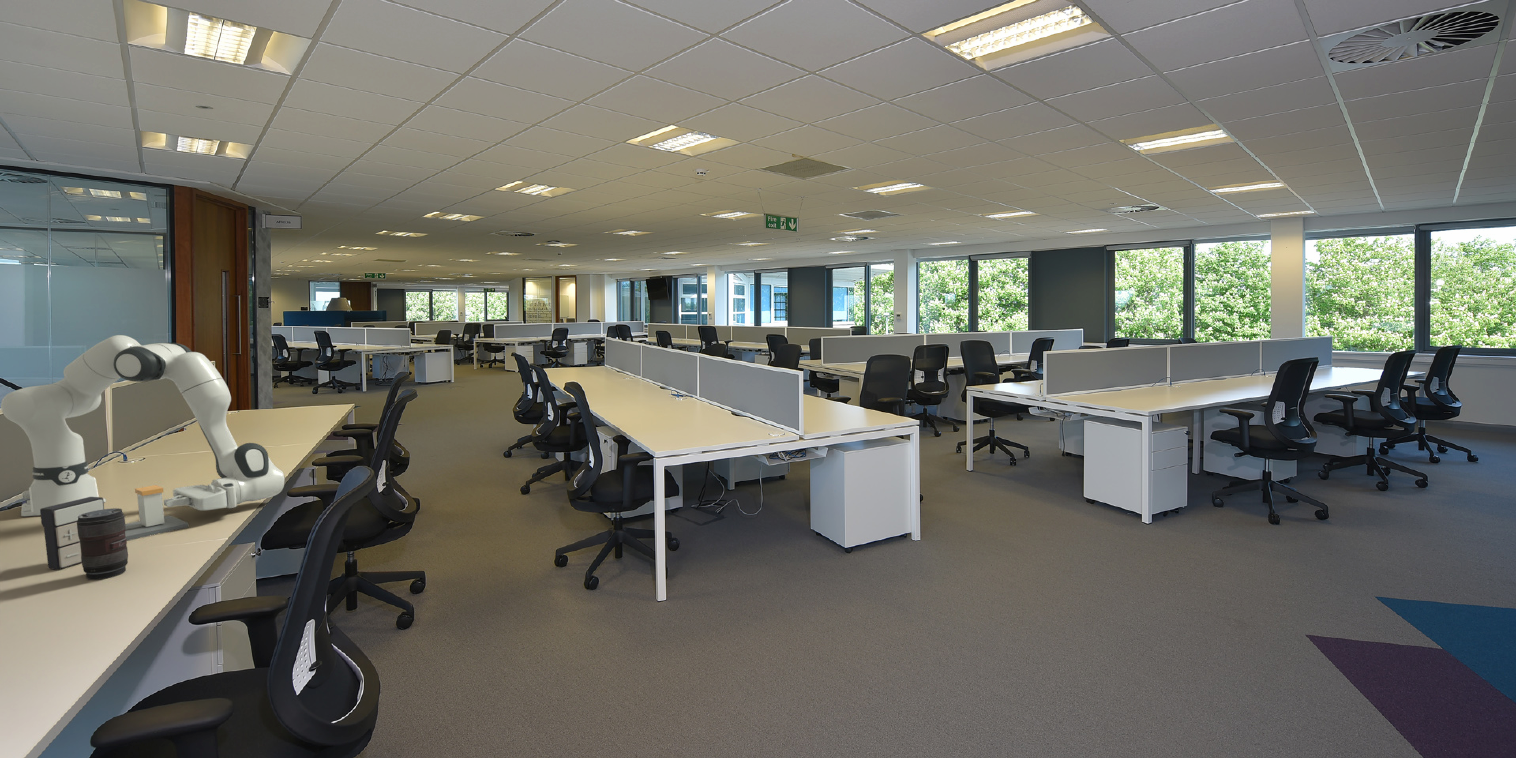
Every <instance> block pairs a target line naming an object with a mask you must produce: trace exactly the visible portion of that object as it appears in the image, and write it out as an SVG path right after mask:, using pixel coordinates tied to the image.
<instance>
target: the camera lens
mask: <svg viewBox="0 0 1516 758" xmlns="http://www.w3.org/2000/svg"><path fill="white" fill-rule="evenodd" d="M125 516H126V515H125V514H124V512H123V509H122V508H119V507H118V508H117V507H115V508H114V507H113V508H104V509H103V510H97V511H92V512H87V513H84V514H81V515H79V516H78V520H77V530H78V537H79V540H80V547H81V561H82V563H81V565H82V568H83V569H82V570H83V573H85V574H86V578H87V580H93V581H94V580H105V578H106V579H110V578H114V577H117V576H120V575H122V574H124V573H125V572H126V569H127V568H126V566H127V565H128V563H129V560H128V559H129V551H128V550H129V549H128V546H127V545H128V542H127V540H126V536H125V531H126V529H125V528H126V525H125V524H126V519H125V518H126V517H125Z"/></svg>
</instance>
